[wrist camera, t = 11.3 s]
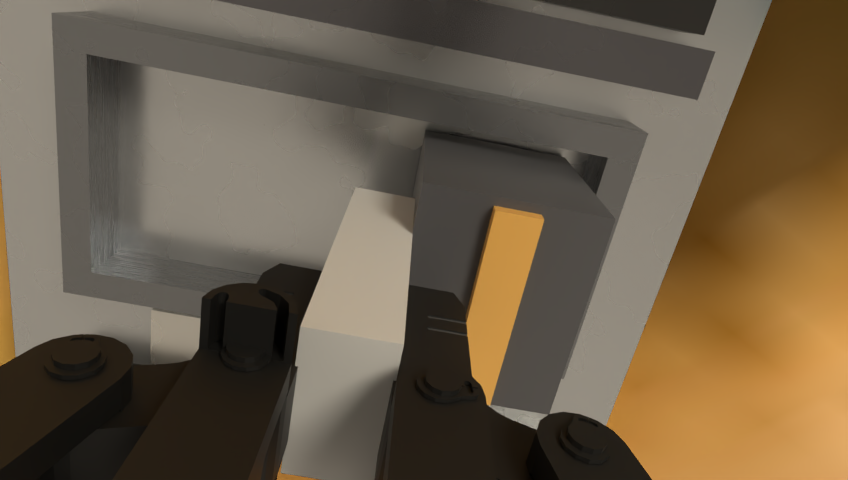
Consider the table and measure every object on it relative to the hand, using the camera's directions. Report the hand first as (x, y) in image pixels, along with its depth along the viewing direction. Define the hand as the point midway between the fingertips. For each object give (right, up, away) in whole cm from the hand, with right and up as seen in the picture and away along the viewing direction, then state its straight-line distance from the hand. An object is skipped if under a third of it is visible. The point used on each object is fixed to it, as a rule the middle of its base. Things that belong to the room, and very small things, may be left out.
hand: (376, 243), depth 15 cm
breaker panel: (-1, +2, +4) cm, 5 cm away
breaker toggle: (+3, +1, +3) cm, 4 cm away
